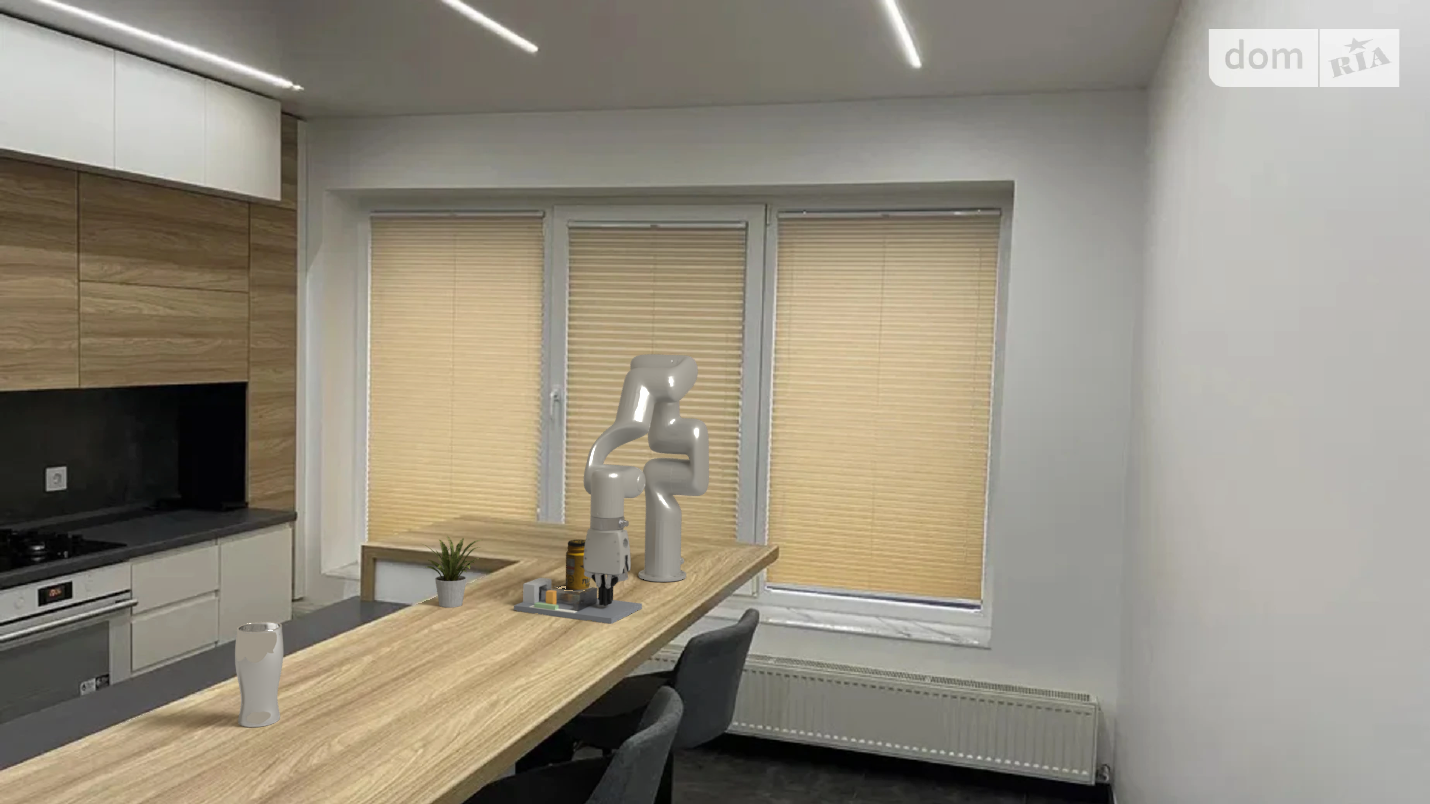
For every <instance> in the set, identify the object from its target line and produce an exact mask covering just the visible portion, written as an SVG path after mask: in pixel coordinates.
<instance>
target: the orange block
mask: <svg viewBox="0 0 1430 804" xmlns="http://www.w3.org/2000/svg"><path fill="white" fill-rule="evenodd" d="M556 593H557V591H554V590H548V591H546V603H548V604H555V605H556Z"/></svg>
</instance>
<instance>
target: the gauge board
mask: <svg viewBox="0 0 1430 804" xmlns="http://www.w3.org/2000/svg"><path fill="white" fill-rule="evenodd" d="M522 588H523V589H522V590H523V591H522V598H523V599H522V602H519V603H516V604H514V605H513V611H514V610H517V611H516V612H520V611H522V612H521V613H527V612H528V613H529V614H535V613H538V614H537V615H542V614H543V616H549V617H558V618H564V617H565V619H573V620H579V619H580V620H581V621H587V620H592V621H591V622H594V621H596V622H595V623H601V622H602V624H610V625H612V624H614V623H616V622H618V621H619V620H621V619H624V618H626V617H628V616H631V615H632V614H634V613H636V612H638V611H641V610H643V603H640V602H633V601H624V600H616V599H613V601H612V603H611V604H609V605H607V606H604V605H599V600H598V597H597V603H595V604H593V605H591V606H589V607H586V608H584V609H582V610H580V611H574V605H570V604H562V603H556V605H555V604H548V603H546V601H539V588H547V589H552V578H547V577H539V578H535V579H534V580H530V581H527V582H524V583H523V584H522ZM637 610H638V611H637ZM635 611H636V612H635ZM631 613H632V614H631ZM623 617H624V618H623ZM617 620H618V621H617Z"/></svg>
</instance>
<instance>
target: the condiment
mask: <svg viewBox="0 0 1430 804" xmlns="http://www.w3.org/2000/svg"><path fill="white" fill-rule="evenodd" d="M585 541H586V539H571V540H569V541H568V542H567V551H566V553H565V584H563V585H553V586H552V587H553V588H554V587H558V588H559V587H561V586H566V589H565V588H562V589H558V588H557V589H556V590H573V591H572V592H582V591H583V590H587V589H590V588H592V586H590V584H591V582H590V581H591V578H589V577H586V576H585V575H584V572H585V570H584V548H585ZM589 587H590V588H589Z"/></svg>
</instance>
